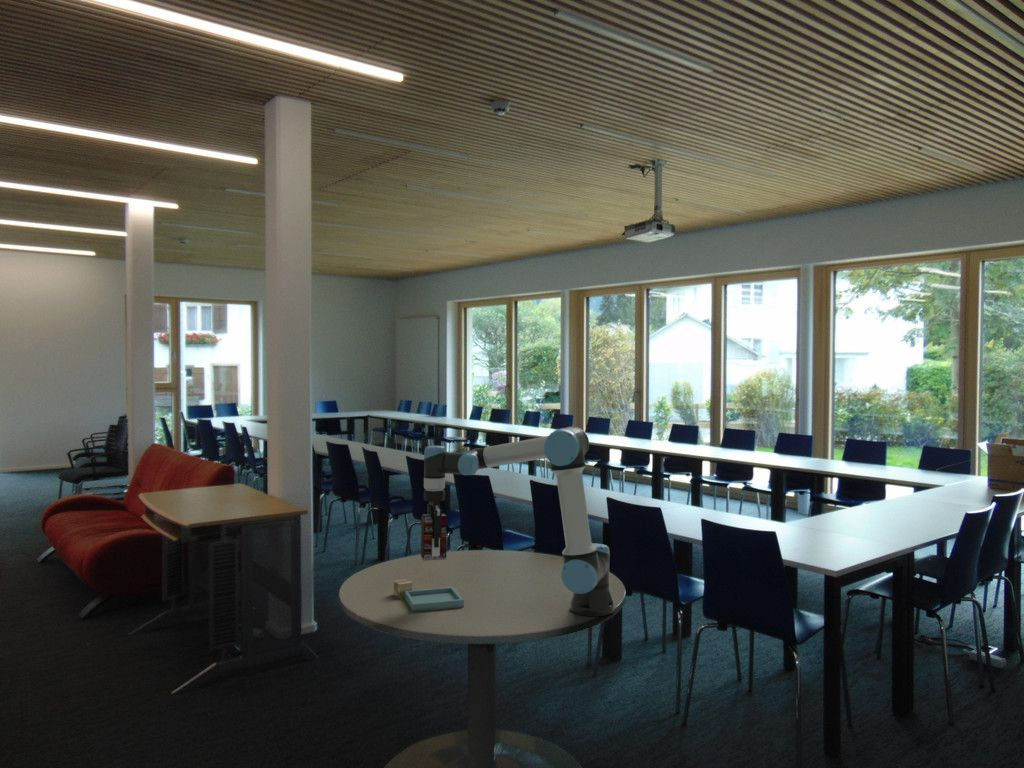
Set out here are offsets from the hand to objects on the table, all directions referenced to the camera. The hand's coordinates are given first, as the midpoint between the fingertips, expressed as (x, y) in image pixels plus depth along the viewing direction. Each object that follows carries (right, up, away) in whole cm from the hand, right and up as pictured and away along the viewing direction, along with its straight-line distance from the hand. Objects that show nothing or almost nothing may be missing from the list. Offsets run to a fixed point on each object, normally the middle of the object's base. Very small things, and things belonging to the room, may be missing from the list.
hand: (434, 554), depth 267 cm
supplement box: (0, -2, 0) cm, 2 cm away
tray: (0, -17, 0) cm, 17 cm away
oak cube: (-13, -17, +9) cm, 23 cm away
